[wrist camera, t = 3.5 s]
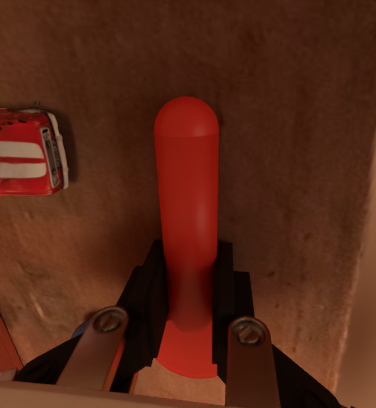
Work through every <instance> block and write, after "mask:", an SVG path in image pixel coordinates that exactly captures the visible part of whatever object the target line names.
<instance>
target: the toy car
mask: <svg viewBox="0 0 376 408" xmlns="http://www.w3.org/2000/svg"><path fill="white" fill-rule="evenodd" d="M35 104H37V101H35V103H34V105H33V106H32V107H30V108H29V109H22V110H16V111H15V112H13V111H11V109H7V108H0V195H1V196H48V195H52V194H55V193H56V192H57V191H59V190H60V189H61V188H62V189H66V188H67V187H68V171H69V168H68V166H67V160H66V154H65V149H64V146H63V137H62V136H61V134H59V131H58V123H57V120H56V118H55V116H54V115H53V114H52V113H49V112H51V111H50V110H45V109H44V110H42V109H41V110H40V109H38V108H37V107H36V106H35ZM38 105H40V102H39V104H38ZM7 110H10V112H7ZM47 115H48V116H49V118H48V116H47ZM49 119H50V121H51V123H50V121H49ZM19 120H20V121H19ZM8 121H9V122H10V123H11V124H12V125H8ZM25 121H27V122H25ZM20 122H25V123H20ZM6 123H7V124H6ZM51 125H52V127H53V128H52V127H51ZM45 129H48V131H47V132H46V133H44V134H43V130H45ZM53 129H54V132H55V138H56V139H54V137H53V135H52V132H53ZM43 137H44V138H45V139H44V138H43ZM61 168H62V171H63V176H62V172H61ZM4 179H5V180H4ZM11 179H12V180H11ZM7 180H8V181H7ZM4 181H6V182H5V183H4Z"/></svg>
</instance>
